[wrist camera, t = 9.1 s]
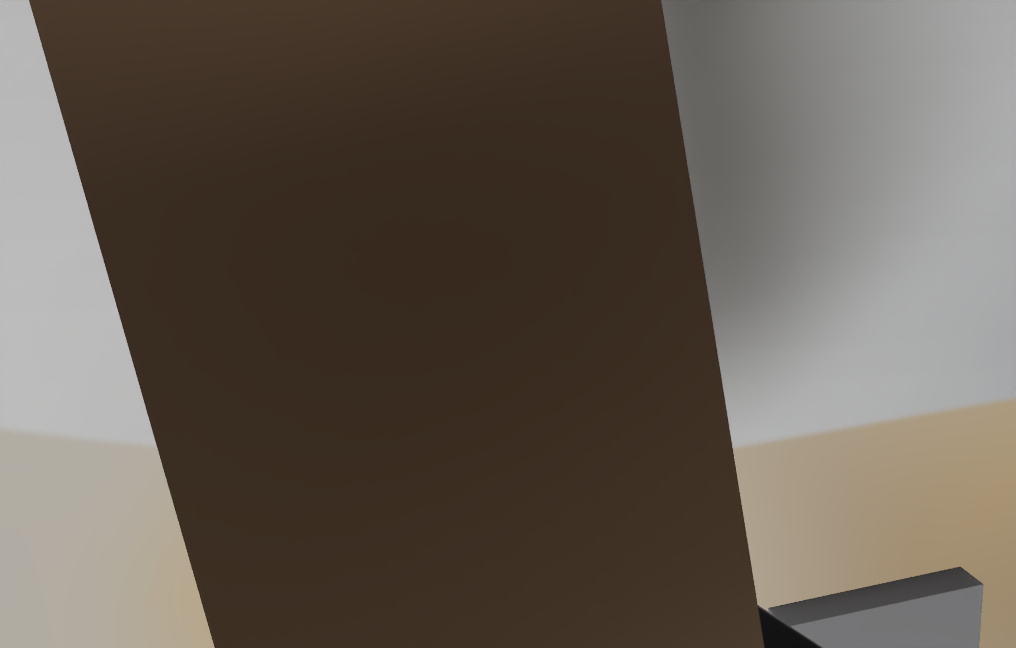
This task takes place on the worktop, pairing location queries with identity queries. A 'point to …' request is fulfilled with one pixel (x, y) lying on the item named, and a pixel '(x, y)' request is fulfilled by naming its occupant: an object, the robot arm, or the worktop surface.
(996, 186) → the worktop surface
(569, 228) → the brown wooden plank
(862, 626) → the mat
